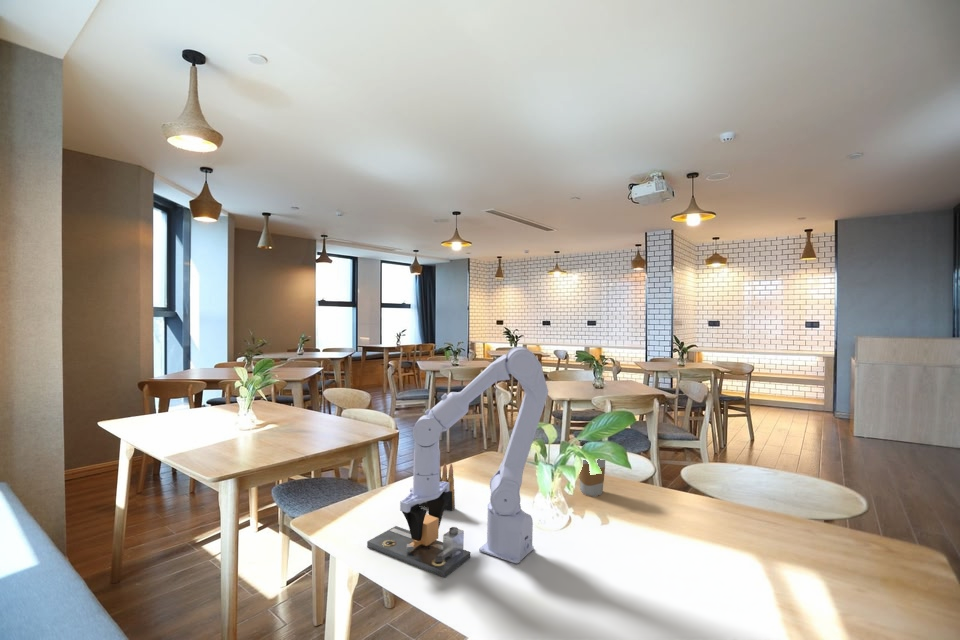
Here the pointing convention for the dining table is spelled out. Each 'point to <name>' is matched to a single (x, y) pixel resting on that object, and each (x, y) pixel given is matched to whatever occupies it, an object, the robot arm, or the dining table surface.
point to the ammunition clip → (450, 479)
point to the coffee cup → (591, 478)
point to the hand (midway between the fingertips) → (425, 533)
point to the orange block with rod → (426, 532)
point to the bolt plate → (424, 550)
